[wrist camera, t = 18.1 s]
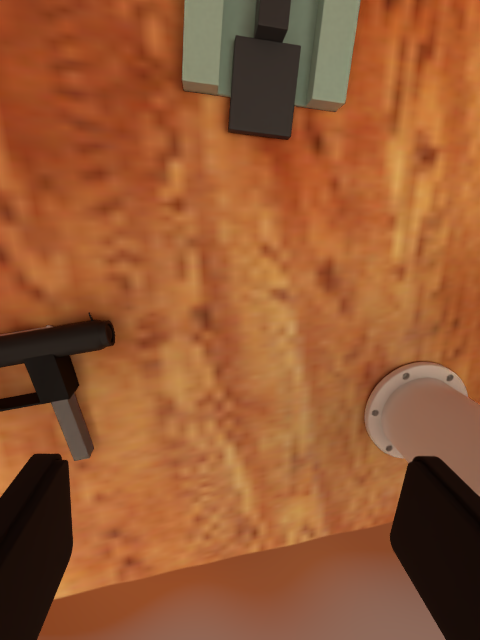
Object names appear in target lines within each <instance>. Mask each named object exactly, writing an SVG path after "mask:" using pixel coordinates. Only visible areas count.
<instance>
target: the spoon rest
mask: <svg viewBox="0 0 480 640" xmlns="http://www.w3.org/2000/svg"><path fill="white" fill-rule="evenodd" d="M256 2H257V0H185V5H184V33H183V62H182V84H183V90H184V91H188V92H196V93H203V94H210V95H217V96H224V97H231V83H232V69H233V55H234V41H235V36H236V35H239V36H245V37H251V38H254V26H255V14H256ZM359 7H360V0H291V6H290V16H289V26H288V31H287V33H286V36H285V38H284V40H283V43H288V44H294V45H300V46H301V52H300V61H299V69H298V78H297V87H296V95H295V104H294V106H296V107H304V108H311V109H318V110H325V111H333V112H336V111H337V110H338V109H339V108H340V107H342V106H343V105H344V104H345V101H346V94H347V87H348V81H349V74H350V67H351V60H352V54H353V47H354V40H355V34H356V27H357V20H358V13H359Z"/></svg>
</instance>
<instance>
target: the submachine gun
mask: <svg viewBox="0 0 480 640" xmlns="http://www.w3.org/2000/svg"><path fill="white" fill-rule="evenodd" d="M89 316H90V319H91V321H86V322H80V323H74V324H68V325H63V326H57V327H53V326H51V325H47V326H46V327H42V328H36V329H30V330H24V331H18V332H12V333H7V334H1V335H0V367H6V366H11V365H17V364H23V363H25V366H26V368H27V371H28V373H29V375H30V378H31V380H32V383H33V385H34V388H35V390H36V393H31V394H25V395H20V396H14V397H8V398H3V399H0V411H6V410H11V409H17V408H22V407H28V406H33V405H38V404H45V403H50V402H51V404H52V406H53V409H54V411H55V414H56V416H57V419H58V421H59V424H60V426H61V429H62V431H63V434H64V436H65V439H66V441H67V444H68V446H69V449H70V451H71V454H72V456H73V459H74V461H77V460H82V459H87V458H90V456H91V453H92V451H93V449H94V447H93V444H92V441H91V438H90V435H89V432H88V430H87V427H86V424H85V421H84V419H83V416H82V413H81V410H80V408H79V405H78V402H77V400H76V397H75V394H74V392H75V391H76V389H77V388H78V386H79V383H78V379H77V376H76V373H75V370H74V367H73V364H72V362H71V359H70V356H69V355H74V354H80V353H85V352H91V351H97V350H101V349H104V348H105V347H107V346H113V345H114V343H115V332H114V328H113V325H112V323H111V322H110V321H109V320H108V321H100V320H93V318H91V316H92V315H90V312H89Z"/></svg>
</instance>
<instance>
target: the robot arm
mask: <svg viewBox="0 0 480 640" xmlns="http://www.w3.org/2000/svg"><path fill="white" fill-rule="evenodd" d="M364 420H365V426H366V430H367V432H368V435H369V436H370V438H371V439H372V441H373V442H374V443H375V444H376V446H377V447H378V448H379V449H380V450H382V451H383V452H384V453H386V454H389V455H391V456H393V457H398V458H405V459H406V460H407V462H408V463H409V464H408V466H407V470H406V474H405V478H404V482H403V486H402V490H401V494H400V498H399V502H398V506H397V509H396V513H395V517H394V521H393V525H392V529H391V533H390V541H391V545H392V548H393V550H394V552H395V553H396V555H397V557H398V559H399V560H400V562H401V564H402V566H403V567H404V569H405V571H406V572H407V574H408V576H409V577H410V579H411V581H412V582H413V584H414V586H415V588H416V589H417V591H418V593H419V595H420V596H421V598H422V599H423V601H424V603H425V605H426V606H427V608H428V610H429V611H430V613H431V615H432V617H433V618H434V620H435V622H436V623H437V625H438V627H439V628H440V630H441V632H442V633H443V635H444V637H445V639H446V640H480V405H479V404H478V403H476V402H475V401H473V400H472V399H470V398H468V394H467V391H466V387H465V385H464V383H463V382H462V380H461V379H460V378H459V377H458V375H457V374H456V373H454V372H453V371H451V370H450V369H448V368H446V367H444V366H442V365H440V364H436V363H432V362H416V363H411V364H408V365H405V366H402V367H400V368H398V369H396V370H394V371H392V372H391V373H390V374H388V375H387V376H386V377H384V378H383V379H382V380H381V381H380V382H379V383H378V384H377V386H376V387H375V389H374V390H373V391H372V393H371V395H370V397H369V399H368V401H367V405H366V409H365V419H364ZM72 547H73V535H72V517H71V500H70V482H69V465H68V461H67V460H62V458H61V455H60V454H34V455H33V456H32V457H31V458H30V459H29V461H28V462H27V463H26V465H25V466H24V467H23V468H22V470H21V471H20V472H19V474H18V475H17V476H16V478H15V479H14V480H13V482H12V483H11V484H10V486H9V487H8V488H7V489H6V491H5V492H4V493H3V495H2V496H1V497H0V640H37V638H38V636H39V633H40V631H41V628H42V626H43V623H44V621H45V618H46V616H47V614H48V611H49V609H50V606H51V604H52V601H53V599H54V596H55V594H56V592H57V589H58V587H59V584H60V582H61V579H62V577H63V574H64V572H65V570H66V567H67V565H68V562H69V560H70V557H71V553H72Z"/></svg>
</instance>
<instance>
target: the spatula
mask: <svg viewBox="0 0 480 640" xmlns="http://www.w3.org/2000/svg"><path fill="white" fill-rule="evenodd" d="M290 6H291V0H257V2H256V14H255V26H254V38H251V37H245V36H239V35H236V36H235V41H234V55H233V69H232V83H231V97H230V112H229V126H228V132H231V133H239V134H247V135H255V136H263V137H271V138H278V139H286V140H288V139H289V138H290V137H291V130H292V122H293V113H294V104H295V95H296V87H297V78H298V69H299V61H300V52H301V46H300V45H294V44H288V43H283V40H284V38H285V36H286V33H287V31H288V26H289V16H290Z"/></svg>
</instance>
